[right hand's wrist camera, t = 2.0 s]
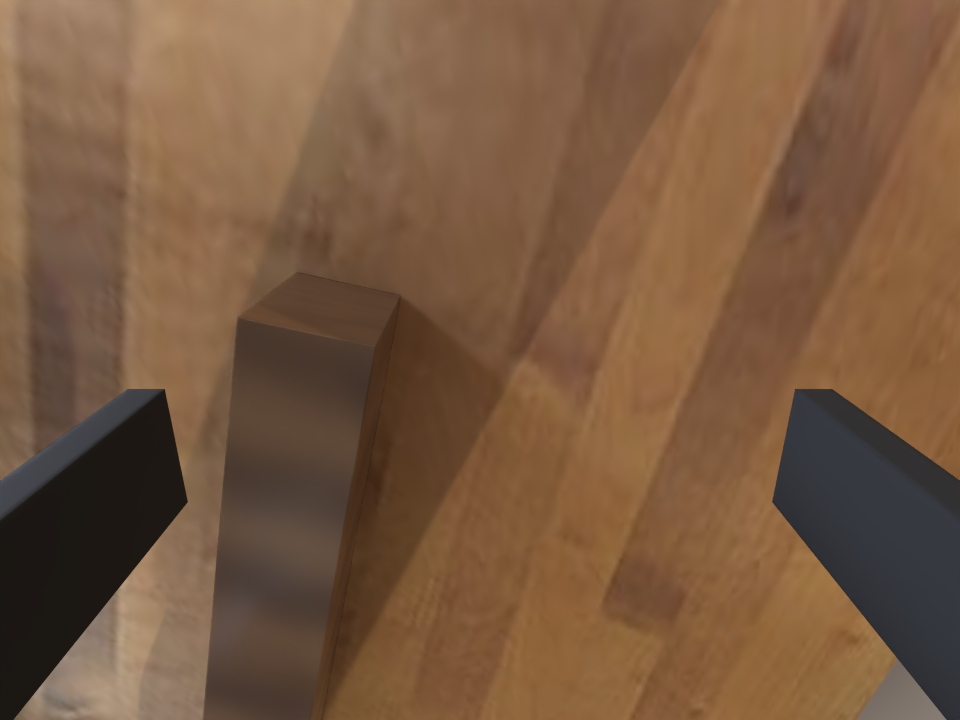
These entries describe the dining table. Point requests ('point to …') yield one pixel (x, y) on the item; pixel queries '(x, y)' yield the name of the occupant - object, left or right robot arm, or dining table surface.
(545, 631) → the dining table surface
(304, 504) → the beam
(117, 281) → the dining table surface
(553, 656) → the dining table surface
